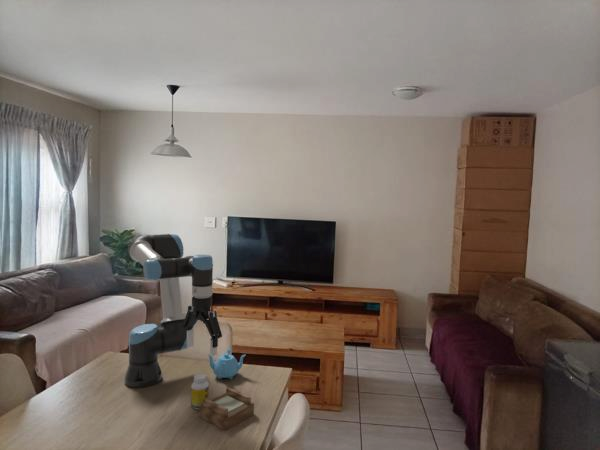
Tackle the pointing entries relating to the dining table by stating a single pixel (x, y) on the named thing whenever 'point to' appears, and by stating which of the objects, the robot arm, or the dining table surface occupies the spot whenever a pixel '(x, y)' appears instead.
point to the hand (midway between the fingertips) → (201, 350)
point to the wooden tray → (227, 409)
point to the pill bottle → (199, 390)
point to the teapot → (226, 365)
